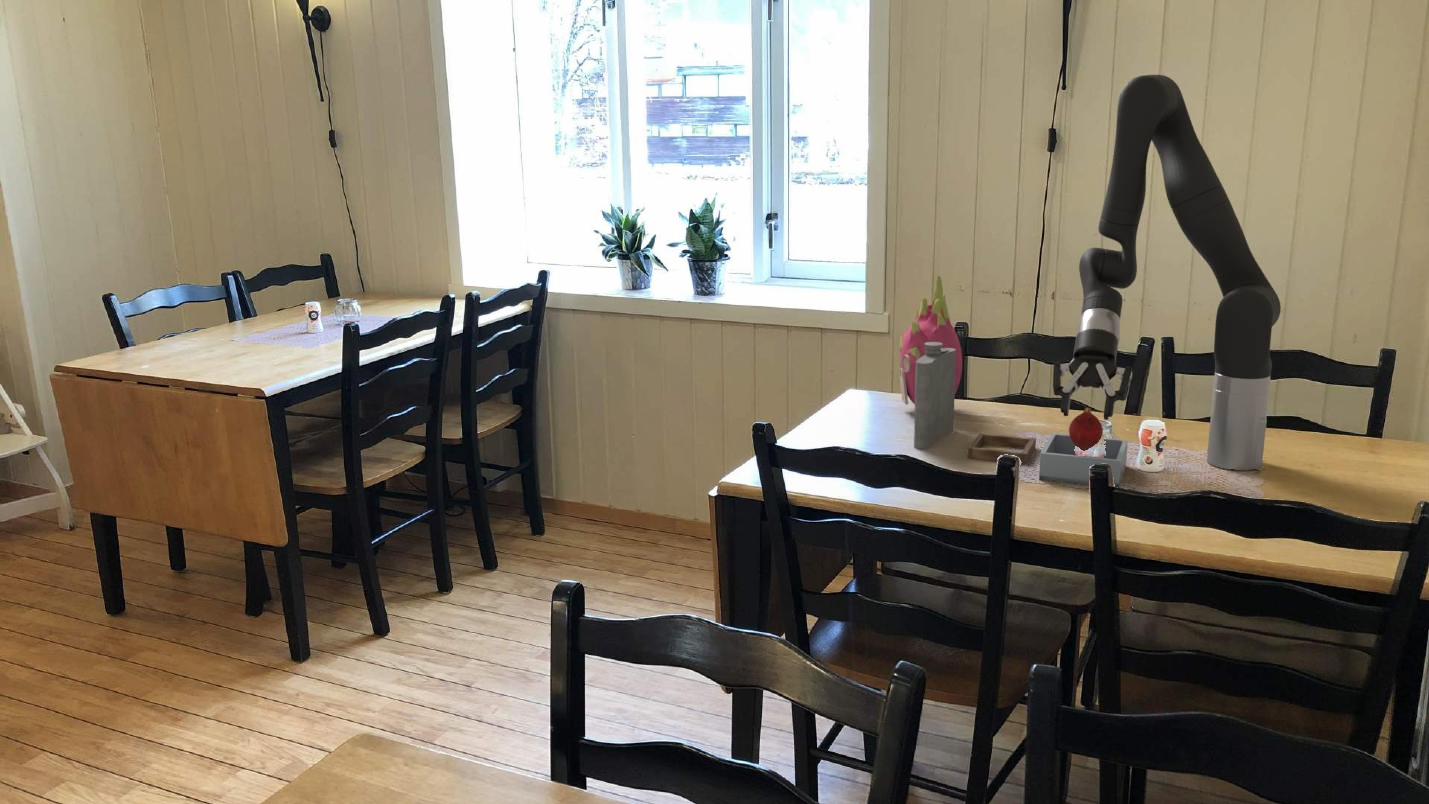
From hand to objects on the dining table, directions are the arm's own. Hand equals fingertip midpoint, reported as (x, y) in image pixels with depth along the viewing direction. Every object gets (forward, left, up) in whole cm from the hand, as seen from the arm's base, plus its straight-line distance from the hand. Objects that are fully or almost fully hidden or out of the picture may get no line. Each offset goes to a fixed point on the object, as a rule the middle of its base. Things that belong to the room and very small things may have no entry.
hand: (1085, 415), depth 197 cm
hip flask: (+31, -14, -12) cm, 36 cm away
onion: (0, -2, -7) cm, 8 cm away
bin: (0, -2, -11) cm, 11 cm away
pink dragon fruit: (+37, -35, -12) cm, 52 cm away
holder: (+16, -9, -11) cm, 21 cm away
